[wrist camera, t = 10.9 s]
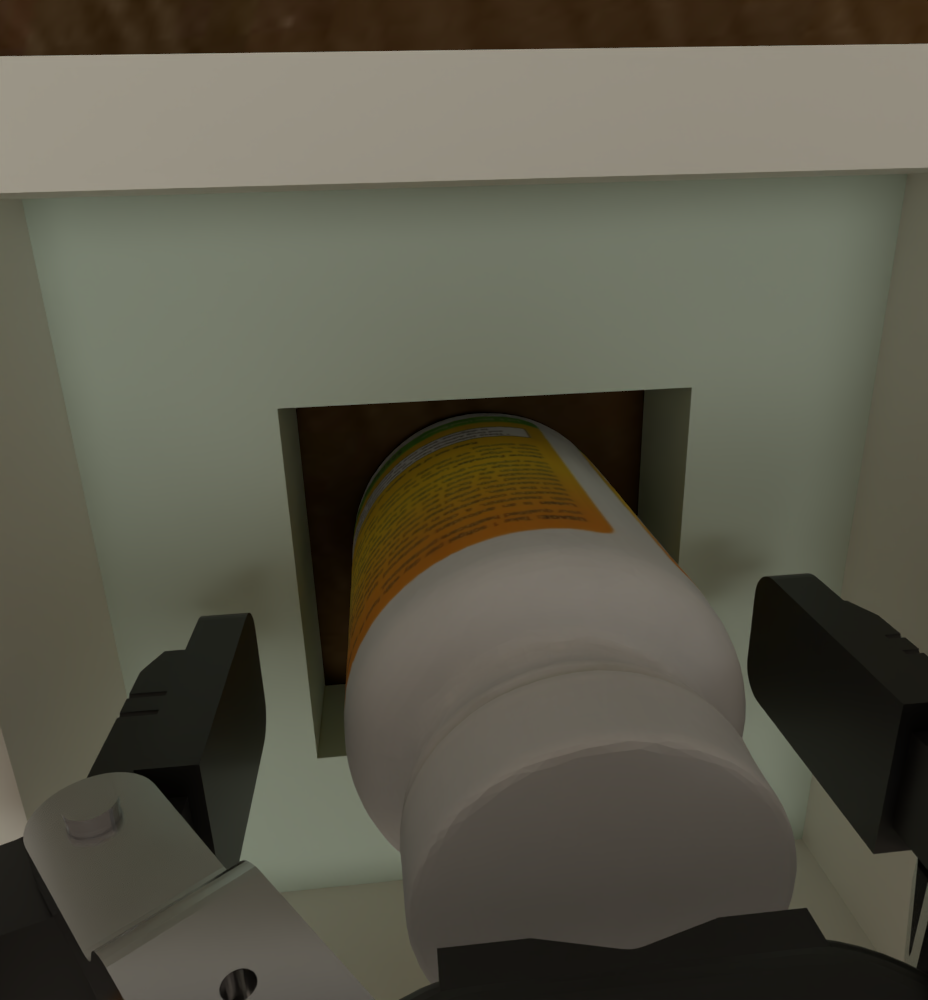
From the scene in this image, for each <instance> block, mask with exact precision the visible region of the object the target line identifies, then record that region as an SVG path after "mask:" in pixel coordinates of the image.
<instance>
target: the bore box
mask: <svg viewBox="0 0 928 1000" xmlns="http://www.w3.org/2000/svg"><path fill="white" fill-rule="evenodd" d="M631 390H644V405H643V424H642V442H641V461H640V479H639V498H638V516H637V517H638V518H639V519H640V520H641V522H642V523H643V524H644V525H645V526H646V528H647V529H648V530H649V531H650V532H651V534H652V535H653V536H654V537H655V538H656V539H657V541H658V542H659V543H660V544H661V545H662V546H663V548H664V549H665V550H666V551H667V552H668V554H669V555H670V556H671V557H672V558H673V559H674V560H675V561H676V563H677V564H678V565H679V566H680V567H681V569H682V570H683V571H684V572H685V573H686V574H687V576H688V577H689V578H690V579H691V580H692V581H693V583H694V584H695V585H696V586H697V587H698V589H699V590H700V591H701V592H702V594H703V595H704V597H705V598H706V599H707V601H708V602H709V604H710V605H711V607H712V608H713V610H714V611H715V612H716V614H717V615H718V617H719V619H720V620H721V622H722V623H723V625H724V627H725V629H726V631H727V632H728V635H729V637H730V639H731V641H732V644H733V646H734V648H735V651H736V654H737V657H738V660H739V663H740V666H741V671H742V676H743V681H744V689H745V700H746V712H745V724H744V731H743V737H742V739H743V741H744V743H745V745H746V746H747V748H748V750H749V752H750V754H751V756H752V758H753V759H754V761H755V763H756V764H757V766H758V767H759V769H760V771H761V772H762V774H763V775H764V777H765V779H766V780H767V782H768V783H769V785H770V786H771V788H772V789H773V790H774V792H775V793H776V795H777V797H778V798H779V800H780V802H781V804H782V805H783V807H784V809H785V812H786V814H787V817H788V819H789V822H790V825H791V827H792V831H793V836H794V840H795V847H796V856H797V872H796V878H795V884H794V890H793V895H792V899H791V902H790V905H789V908H788V910H790V909H799V908H807V909H808V911H809V912H810V914H811V915H812V917H813V919H814V920H815V922H816V924H817V925H818V927H819V929H820V930H821V932H822V934H823V935H824V937H825V939H826V940H834V941H839V942H844V943H848V944H853V945H857V946H861V947H864V948H867V949H870V950H874V951H877V952H880V953H883V954H886V955H888V956H890V957H893V958H895V959H898V960H900V961H902V962H904V954H905V944H906V935H907V925H908V915H909V906H910V896H911V886H912V878H913V874H914V869H915V865H916V861H917V857H916V855H915V854H914V853H913V852H912V850H908V851H899V852H889V853H880V854H873V853H872V852H871V850H870V849H869V848H868V846H867V845H866V844H865V843H864V841H863V840H862V839H861V837H860V836H859V835H858V833H857V832H856V831H855V829H854V828H853V827H852V825H851V824H850V823H849V821H848V820H847V819H846V818H845V816H844V815H843V814H842V812H841V811H840V810H839V808H838V807H837V806H836V804H835V803H834V802H833V800H832V799H831V798H830V796H829V795H828V794H827V793H826V791H825V790H824V789H823V787H822V786H821V785H820V783H819V782H818V781H817V779H816V778H815V777H814V775H813V774H812V773H811V771H810V770H809V769H808V768H807V766H806V765H805V764H804V762H803V761H802V760H801V758H800V757H799V756H798V754H797V753H796V752H795V750H794V749H793V748H792V746H791V745H790V744H789V743H788V741H787V740H786V739H785V737H784V736H783V735H782V733H781V732H780V731H779V729H778V728H777V727H776V725H775V724H774V723H773V721H772V720H771V719H770V717H769V716H768V715H767V714H766V712H765V711H764V710H763V708H762V707H761V706H760V704H759V703H758V702H757V700H756V699H755V697H754V695H753V692H752V690H751V687H750V683H749V679H748V673H747V657H748V649H749V640H750V631H751V623H752V614H753V605H754V597H755V590H756V586H757V583H758V581H759V580H760V579H761V578H762V577H764V576H776V575H789V574H803V573H810V574H813V575H814V576H816V577H817V578H818V579H819V580H821V581H822V582H823V583H824V584H825V585H826V586H828V587H829V588H830V589H831V590H832V591H833V592H835V593H836V594H837V595H838V596H839V597H840V598H842V599H843V600H844V601H849V602H851V603H853V604H855V605H858V606H860V607H862V608H864V609H866V610H868V611H870V612H872V613H875V614H877V615H879V616H880V617H881V618H882V619H884V620H885V621H886V622H887V623H888V624H890V625H891V626H892V627H893V628H894V629H896V630H897V631H898V632H899V633H900V634H901V638H902V637H905V638H907V639H908V640H909V641H910V642H911V643H913V644H914V645H915V646H916V647H917V648H919V652H920V653H925V654H926V655H927V656H928V44H878V45H804V46H730V47H656V48H582V49H508V50H434V51H360V52H286V53H212V54H138V55H64V56H0V845H3V844H6V843H8V842H11V841H14V840H16V839H19V838H21V837H23V833H24V830H25V826H26V824H27V822H28V820H29V818H30V817H31V816H32V814H33V813H34V812H35V810H36V809H37V808H38V807H39V806H40V805H41V804H42V803H43V802H44V801H46V800H47V799H48V798H49V797H51V796H52V795H54V794H55V793H57V792H58V791H60V790H61V789H63V788H65V787H67V786H69V785H71V784H73V783H75V782H78V781H80V780H82V779H86V778H87V776H88V774H89V772H90V770H91V768H92V766H93V764H94V762H95V760H96V758H97V756H98V754H99V752H100V750H101V748H102V746H103V744H104V742H105V741H106V739H107V737H108V735H109V733H110V731H111V729H112V727H113V725H114V723H115V721H116V719H117V718H118V717H120V711H121V709H122V707H123V705H124V703H125V701H126V699H127V698H129V693H130V691H131V689H132V687H133V685H134V683H135V681H136V679H137V677H138V675H139V673H140V671H142V670H143V669H144V668H145V667H146V666H148V665H149V664H150V663H151V662H152V661H153V660H155V659H156V658H157V657H158V656H159V655H161V654H162V653H163V652H164V651H172V650H185V649H186V647H187V644H188V642H189V640H190V637H191V635H192V633H193V630H194V628H195V626H196V623H197V621H198V619H199V618H200V617H201V616H209V615H223V614H237V613H251V615H252V617H253V620H254V624H255V630H256V637H257V644H258V652H259V659H260V666H261V673H262V680H263V688H264V695H265V704H266V734H265V742H264V747H263V751H262V756H261V761H260V766H259V770H258V775H257V780H256V785H255V789H254V794H253V799H252V804H251V808H250V813H249V818H248V823H247V827H246V832H245V837H244V842H243V846H242V851H241V856H240V861H242V860H246V861H249V862H251V863H252V864H253V865H255V866H256V867H257V868H258V869H259V870H260V871H261V872H262V874H263V875H264V876H265V877H266V878H267V879H268V880H269V881H270V883H271V884H272V885H273V886H274V887H275V888H276V889H277V890H278V891H279V893H280V894H281V895H282V896H283V897H284V898H285V899H286V900H287V902H288V903H289V904H290V905H291V906H292V907H293V908H294V909H295V911H296V912H297V913H298V914H299V915H300V916H301V917H302V918H303V920H304V921H305V922H306V923H307V924H308V925H309V926H310V927H311V928H312V930H313V931H314V932H315V933H316V934H317V935H318V936H319V937H320V939H321V940H322V941H323V942H324V943H325V944H326V945H327V946H328V948H329V949H330V950H331V951H332V952H333V953H334V954H335V955H336V957H337V958H338V959H339V960H340V961H341V962H342V963H343V964H344V965H345V967H346V968H347V969H348V970H349V971H350V972H351V973H352V974H353V976H354V977H355V978H356V979H357V980H358V981H359V982H360V983H361V985H362V986H363V987H364V988H365V989H366V990H367V991H368V992H369V993H370V995H371V996H372V997H373V998H374V999H375V1000H399V999H401V998H403V997H405V996H407V995H409V994H411V993H412V992H414V991H416V990H418V989H420V988H422V987H425V986H427V985H430V984H431V983H430V982H429V981H428V979H427V978H426V976H425V974H424V973H423V971H422V969H421V968H420V966H419V964H418V961H417V959H416V957H415V954H414V952H413V950H412V947H411V945H410V940H409V935H408V931H407V925H406V916H405V904H404V890H403V877H402V864H401V855H400V852H398V851H397V850H396V849H395V848H394V847H393V846H392V845H391V844H390V843H389V842H388V841H387V839H386V838H385V837H384V836H383V835H382V833H381V832H380V831H379V829H378V828H377V827H376V825H375V824H374V822H373V821H372V819H371V818H370V817H369V815H368V813H367V811H366V810H365V808H364V806H363V804H362V802H361V800H360V798H359V795H358V793H357V790H356V788H355V785H354V783H353V780H352V776H351V773H350V769H349V764H348V759H347V754H346V745H345V727H344V705H345V687H346V684H339V685H327V686H325V679H324V669H323V660H322V650H321V641H320V631H319V622H318V613H317V603H316V594H315V584H314V575H313V565H312V556H311V546H310V537H309V527H308V518H307V509H306V499H305V490H304V480H303V471H302V461H301V452H300V442H299V433H298V423H297V414H296V408H299V407H318V406H338V405H357V404H377V403H396V402H416V401H435V400H455V399H474V398H494V397H514V396H533V395H553V394H572V393H592V392H611V391H631ZM240 861H239V862H240Z"/></svg>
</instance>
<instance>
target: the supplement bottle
mask: <svg viewBox="0 0 928 1000" xmlns="http://www.w3.org/2000/svg"><path fill="white" fill-rule="evenodd" d="M745 712H746V700H745V689H744V681H743V676H742V671H741V666H740V663H739V660H738V657H737V654H736V651H735V648H734V646H733V644H732V641H731V639H730V637H729V635H728V632H727V631H726V629H725V627H724V625H723V623H722V622H721V620H720V619H719V617H718V615H717V614H716V612H715V611H714V610H713V608H712V607H711V605H710V604H709V602H708V601H707V599H706V598H705V597H704V595H703V594H702V592H701V591H700V590H699V589H698V587H697V586H696V585H695V584H694V583H693V581H692V580H691V579H690V578H689V577H688V576H687V574H686V573H685V572H684V571H683V570H682V569H681V567H680V566H679V565H678V564H677V563H676V561H675V560H674V559H673V558H672V557H671V556H670V555H669V554H668V552H667V551H666V550H665V549H664V548H663V546H662V545H661V544H660V543H659V542H658V541H657V539H656V538H655V537H654V536H653V535H652V534H651V532H650V531H649V530H648V529H647V528H646V526H645V525H644V524H643V523H642V522H641V520H640V519H639V518H638V517H637V516H636V514H635V513H634V512H633V511H632V510H631V509H630V507H629V506H628V505H627V504H626V502H625V501H624V500H623V499H622V498H621V496H620V495H619V494H618V493H617V491H616V490H615V489H614V488H613V487H612V486H611V485H610V483H609V482H608V481H607V480H606V478H605V477H604V476H603V475H602V474H601V473H600V471H599V470H598V469H597V468H596V467H595V466H594V464H593V463H592V462H591V461H590V460H589V459H588V458H587V457H586V456H585V455H584V454H583V453H582V452H581V451H580V450H579V449H578V448H577V447H576V446H575V445H574V444H572V443H571V442H570V441H569V440H568V439H566V438H565V437H564V436H562V435H561V434H560V433H558V432H556V431H555V430H553V429H551V428H549V427H547V426H545V425H543V424H541V423H538V422H536V421H533V420H530V419H527V418H524V417H520V416H515V415H508V414H501V413H475V414H467V415H462V416H456V417H452V418H449V419H446V420H443V421H440V422H437V423H435V424H432V425H430V426H428V427H426V428H424V429H422V430H420V431H419V432H417V433H415V434H414V435H412V436H411V437H409V438H408V439H407V440H405V441H404V442H403V443H402V444H400V445H399V446H398V447H397V448H396V449H395V450H394V451H393V452H392V453H391V454H390V455H389V456H388V457H387V458H386V459H385V460H384V461H383V463H382V464H381V465H380V466H379V468H378V469H377V471H376V472H375V474H374V475H373V476H372V478H371V480H370V482H369V483H368V485H367V487H366V490H365V492H364V494H363V497H362V499H361V502H360V505H359V509H358V513H357V517H356V523H355V528H354V537H353V555H352V579H351V597H350V618H349V638H348V652H347V669H346V687H345V705H344V727H345V745H346V754H347V759H348V764H349V769H350V773H351V776H352V780H353V783H354V785H355V788H356V790H357V793H358V795H359V798H360V800H361V802H362V804H363V806H364V808H365V810H366V811H367V813H368V815H369V817H370V818H371V819H372V821H373V822H374V824H375V825H376V827H377V828H378V829H379V831H380V832H381V833H382V835H383V836H384V837H385V838H386V839H387V841H388V842H389V843H390V844H391V845H392V846H393V847H394V848H395V849H396V850H397V851H398V852H400V855H401V864H402V877H403V890H404V904H405V916H406V925H407V931H408V935H409V940H410V945H411V947H412V950H413V952H414V954H415V957H416V959H417V961H418V964H419V966H420V968H421V969H422V971H423V973H424V974H425V976H426V978H427V979H428V981H429V982H430V983H431V984H432V983H435V982H438V981H439V977H438V959H437V948H445V947H454V946H463V945H472V944H481V943H490V942H499V941H508V940H518V939H527V938H534V939H543V940H551V941H559V942H568V943H576V944H585V945H593V946H601V947H610V948H618V949H636V948H640V947H643V946H646V945H648V944H651V943H654V942H656V941H659V940H661V939H664V938H666V937H669V936H672V935H674V934H677V933H679V932H682V931H685V930H687V929H690V928H692V927H695V926H698V925H700V924H703V923H705V922H708V921H710V920H713V919H716V918H718V917H726V916H735V915H744V914H754V913H763V912H772V911H781V910H788V908H789V905H790V902H791V899H792V895H793V890H794V884H795V878H796V872H797V856H796V847H795V840H794V836H793V831H792V827H791V825H790V822H789V819H788V817H787V814H786V812H785V809H784V807H783V805H782V804H781V802H780V800H779V798H778V797H777V795H776V793H775V792H774V790H773V789H772V788H771V786H770V785H769V783H768V782H767V780H766V779H765V777H764V775H763V774H762V772H761V771H760V769H759V767H758V766H757V764H756V763H755V761H754V759H753V758H752V756H751V754H750V752H749V750H748V748H747V746H746V745H745V743H744V741H743V739H742V737H743V731H744V724H745Z"/></svg>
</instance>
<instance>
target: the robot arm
mask: <svg viewBox="0 0 928 1000" xmlns="http://www.w3.org/2000/svg"><path fill="white" fill-rule="evenodd" d="M747 673H748V679H749V683H750V687H751V690H752V692H753V695H754V697H755V699H756V700H757V702H758V703H759V704H760V706H761V707H762V708H763V710H764V711H765V712H766V714H767V715H768V716H769V717H770V719H771V720H772V721H773V723H774V724H775V725H776V727H777V728H778V729H779V731H780V732H781V733H782V735H783V736H784V737H785V739H786V740H787V741H788V743H789V744H790V745H791V746H792V748H793V749H794V750H795V752H796V753H797V754H798V756H799V757H800V758H801V760H802V761H803V762H804V764H805V765H806V766H807V768H808V769H809V770H810V771H811V773H812V774H813V775H814V777H815V778H816V779H817V781H818V782H819V783H820V785H821V786H822V787H823V789H824V790H825V791H826V793H827V794H828V795H829V796H830V798H831V799H832V800H833V802H834V803H835V804H836V806H837V807H838V808H839V810H840V811H841V812H842V814H843V815H844V816H845V818H846V819H847V820H848V821H849V823H850V824H851V825H852V827H853V828H854V829H855V831H856V832H857V833H858V835H859V836H860V837H861V839H862V840H863V841H864V843H865V844H866V845H867V846H868V848H869V849H870V850H871V852H872V853H873V854H880V853H889V852H899V851H908V850H912V852H913V853H914V854H915V855H916V857H917V861H916V865H915V869H914V874H913V878H912V886H911V896H910V906H909V915H908V925H907V935H906V944H905V954H904V962H902V961H900V960H898V959H895V958H893V957H890V956H888V955H886V954H883V953H880V952H877V951H874V950H870V949H867V948H864V947H861V946H857V945H853V944H848V943H844V942H839V941H834V940H826V939H825V937H824V935H823V934H822V932H821V930H820V929H819V927H818V925H817V924H816V922H815V920H814V919H813V917H812V915H811V914H810V912H809V911H808V909H807V908H799V909H790V910H781V911H772V912H763V913H754V914H744V915H735V916H726V917H718V918H716V919H713V920H710V921H708V922H705V923H703V924H700V925H698V926H695V927H692V928H690V929H687V930H685V931H682V932H679V933H677V934H674V935H672V936H669V937H666V938H664V939H661V940H659V941H656V942H654V943H651V944H648V945H646V946H643V947H640V948H636V949H618V948H610V947H601V946H593V945H585V944H576V943H568V942H559V941H551V940H543V939H534V938H527V939H518V940H508V941H499V942H490V943H481V944H472V945H463V946H454V947H445V948H437V959H438V977H439V981H438V982H435V983H432V984H430V985H427V986H425V987H422V988H420V989H418V990H416V991H414V992H412V993H411V994H409V995H407V996H405V997H403V998H401V999H399V1000H928V656H927V655H926V654H925V653H920V652H919V648H917V647H916V646H915V645H914V644H913V643H911V642H910V641H909V640H908V639H907V638H905V637H902V638H901V634H900V633H899V632H898V631H897V630H896V629H894V628H893V627H892V626H891V625H890V624H888V623H887V622H886V621H885V620H884V619H882V618H881V617H880V616H879V615H877V614H875V613H872V612H870V611H868V610H866V609H864V608H862V607H860V606H858V605H855V604H853V603H851V602H849V601H844V600H843V599H842V598H840V597H839V596H838V595H837V594H836V593H835V592H833V591H832V590H831V589H830V588H829V587H828V586H826V585H825V584H824V583H823V582H822V581H821V580H819V579H818V578H817V577H816V576H814V575H813V574H810V573H803V574H789V575H776V576H764V577H762V578H761V579H760V580H759V581H758V583H757V586H756V590H755V597H754V605H753V614H752V623H751V631H750V640H749V649H748V657H747ZM265 734H266V704H265V695H264V688H263V680H262V673H261V666H260V659H259V652H258V644H257V637H256V630H255V624H254V620H253V617H252V615H251V613H237V614H223V615H209V616H201V617H200V618H199V619H198V621H197V623H196V626H195V628H194V630H193V633H192V635H191V637H190V640H189V642H188V644H187V647H186V649H185V650H172V651H164V652H163V653H162V654H161V655H159V656H158V657H157V658H156V659H155V660H153V661H152V662H151V663H150V664H149V665H148V666H146V667H145V668H144V669H143V670H142V671H140V673H139V675H138V677H137V679H136V681H135V683H134V685H133V687H132V689H131V691H130V693H129V698H127V699H126V701H125V703H124V705H123V707H122V709H121V711H120V717H118V718H117V719H116V721H115V723H114V725H113V727H112V729H111V731H110V733H109V735H108V737H107V739H106V741H105V742H104V744H103V746H102V748H101V750H100V752H99V754H98V756H97V758H96V760H95V762H94V764H93V766H92V768H91V770H90V772H89V774H88V776H87V778H86V779H82V780H80V781H78V782H75V783H73V784H71V785H69V786H67V787H65V788H63V789H61V790H60V791H58V792H57V793H55V794H54V795H52V796H51V797H49V798H48V799H47V800H46V801H44V802H43V803H42V804H41V805H40V806H39V807H38V808H37V809H36V810H35V812H34V813H33V814H32V816H31V817H30V818H29V820H28V822H27V824H26V826H25V830H24V833H23V837H21V838H19V839H16V840H14V841H11V842H8V843H6V844H3V845H0V1000H375V999H374V998H373V997H372V996H371V995H370V993H369V992H368V991H367V990H366V989H365V988H364V987H363V986H362V985H361V983H360V982H359V981H358V980H357V979H356V978H355V977H354V976H353V974H352V973H351V972H350V971H349V970H348V969H347V968H346V967H345V965H344V964H343V963H342V962H341V961H340V960H339V959H338V958H337V957H336V955H335V954H334V953H333V952H332V951H331V950H330V949H329V948H328V946H327V945H326V944H325V943H324V942H323V941H322V940H321V939H320V937H319V936H318V935H317V934H316V933H315V932H314V931H313V930H312V928H311V927H310V926H309V925H308V924H307V923H306V922H305V921H304V920H303V918H302V917H301V916H300V915H299V914H298V913H297V912H296V911H295V909H294V908H293V907H292V906H291V905H290V904H289V903H288V902H287V900H286V899H285V898H284V897H283V896H282V895H281V894H280V893H279V891H278V890H277V889H276V888H275V887H274V886H273V885H272V884H271V883H270V881H269V880H268V879H267V878H266V877H265V876H264V875H263V874H262V872H261V871H260V870H259V869H258V868H257V867H256V866H255V865H253V864H252V863H251V862H249V861H246V860H242V861H240V856H241V851H242V846H243V842H244V837H245V832H246V827H247V823H248V818H249V813H250V808H251V804H252V799H253V794H254V789H255V785H256V780H257V775H258V770H259V766H260V761H261V756H262V751H263V747H264V742H265ZM239 861H240V862H239Z"/></svg>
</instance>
